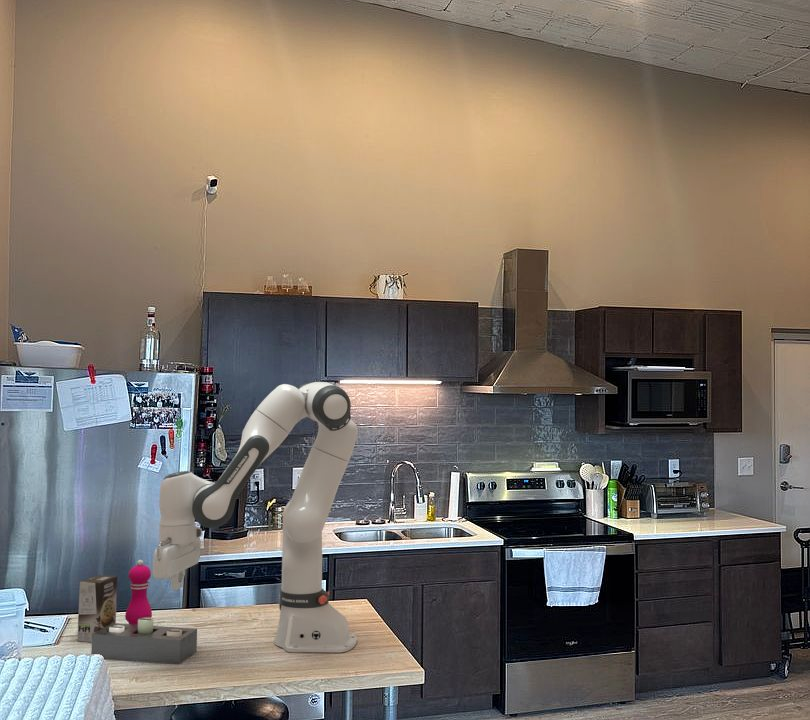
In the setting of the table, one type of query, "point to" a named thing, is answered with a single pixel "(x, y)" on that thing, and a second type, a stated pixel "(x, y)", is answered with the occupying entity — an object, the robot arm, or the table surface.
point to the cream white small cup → (174, 632)
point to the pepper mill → (139, 594)
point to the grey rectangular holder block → (145, 644)
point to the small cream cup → (116, 628)
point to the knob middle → (145, 626)
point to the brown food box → (96, 605)
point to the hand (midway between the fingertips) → (177, 588)
